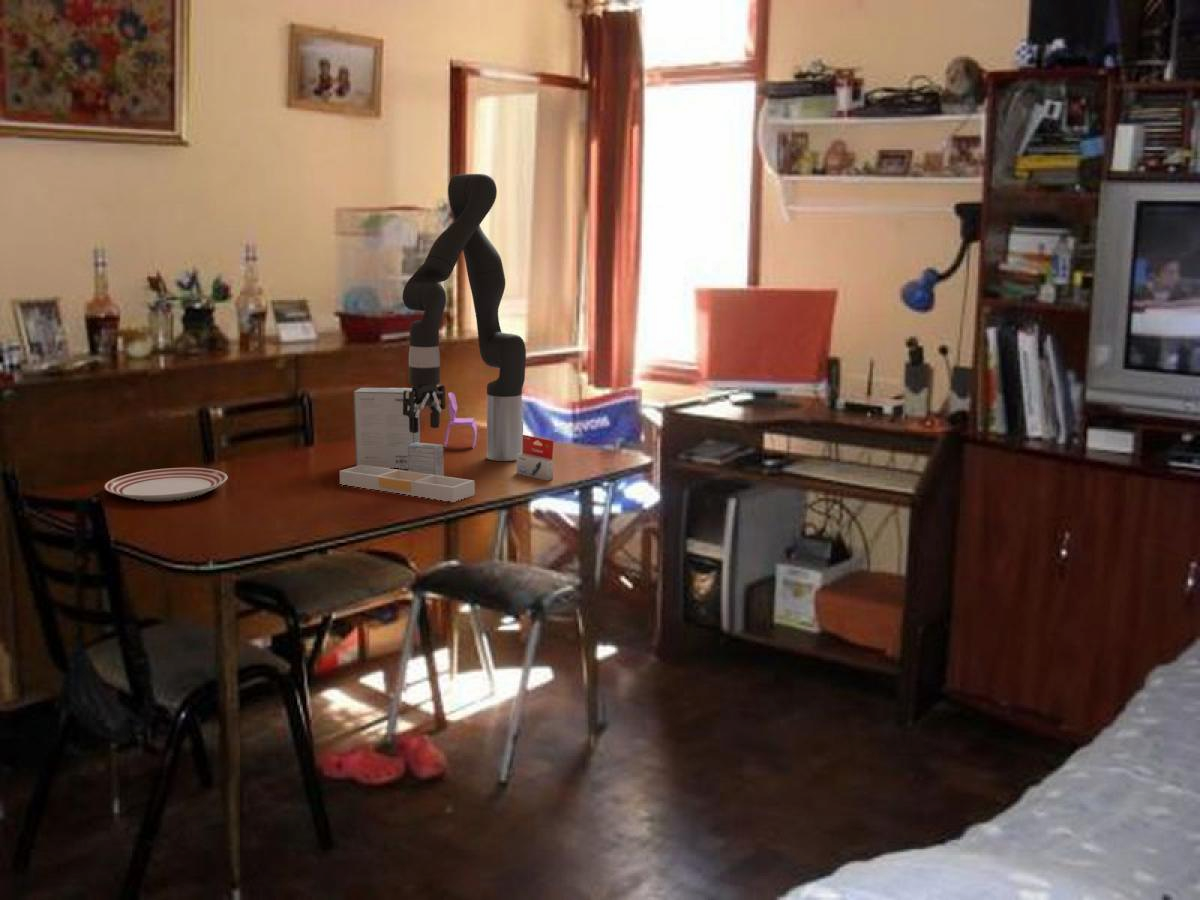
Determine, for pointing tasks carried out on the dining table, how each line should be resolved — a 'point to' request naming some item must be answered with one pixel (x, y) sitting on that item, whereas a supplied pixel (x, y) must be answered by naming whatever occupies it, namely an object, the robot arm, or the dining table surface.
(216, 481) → the dinner plate
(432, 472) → the medicine box
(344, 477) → the compartment tray
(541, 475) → the ink cartridge box
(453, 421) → the toy chair
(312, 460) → the dining table surface
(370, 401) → the hard drive box
